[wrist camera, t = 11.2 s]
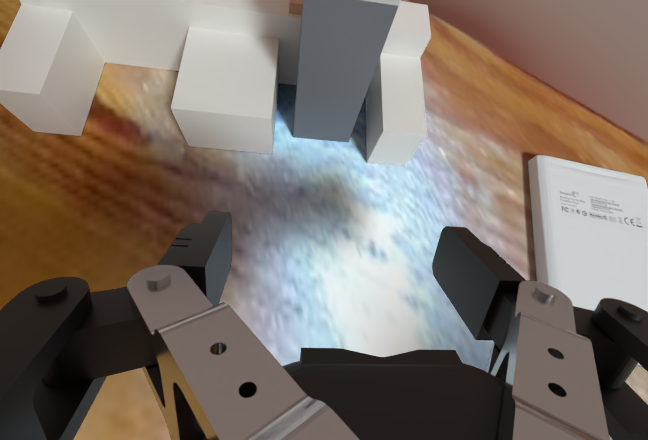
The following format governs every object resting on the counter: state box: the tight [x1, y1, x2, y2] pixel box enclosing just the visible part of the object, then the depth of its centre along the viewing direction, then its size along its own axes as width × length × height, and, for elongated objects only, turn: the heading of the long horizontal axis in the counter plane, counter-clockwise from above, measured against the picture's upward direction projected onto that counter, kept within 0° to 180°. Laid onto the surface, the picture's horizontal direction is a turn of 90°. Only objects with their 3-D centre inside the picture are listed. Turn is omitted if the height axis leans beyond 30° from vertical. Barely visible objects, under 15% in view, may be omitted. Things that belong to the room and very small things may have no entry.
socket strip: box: [0, 0, 431, 166], centre depth 19 cm, size 22×8×6 cm, turn 88°
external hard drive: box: [528, 155, 648, 367], centre depth 21 cm, size 2×8×12 cm
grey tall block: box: [293, 0, 401, 142], centre depth 16 cm, size 4×4×11 cm
